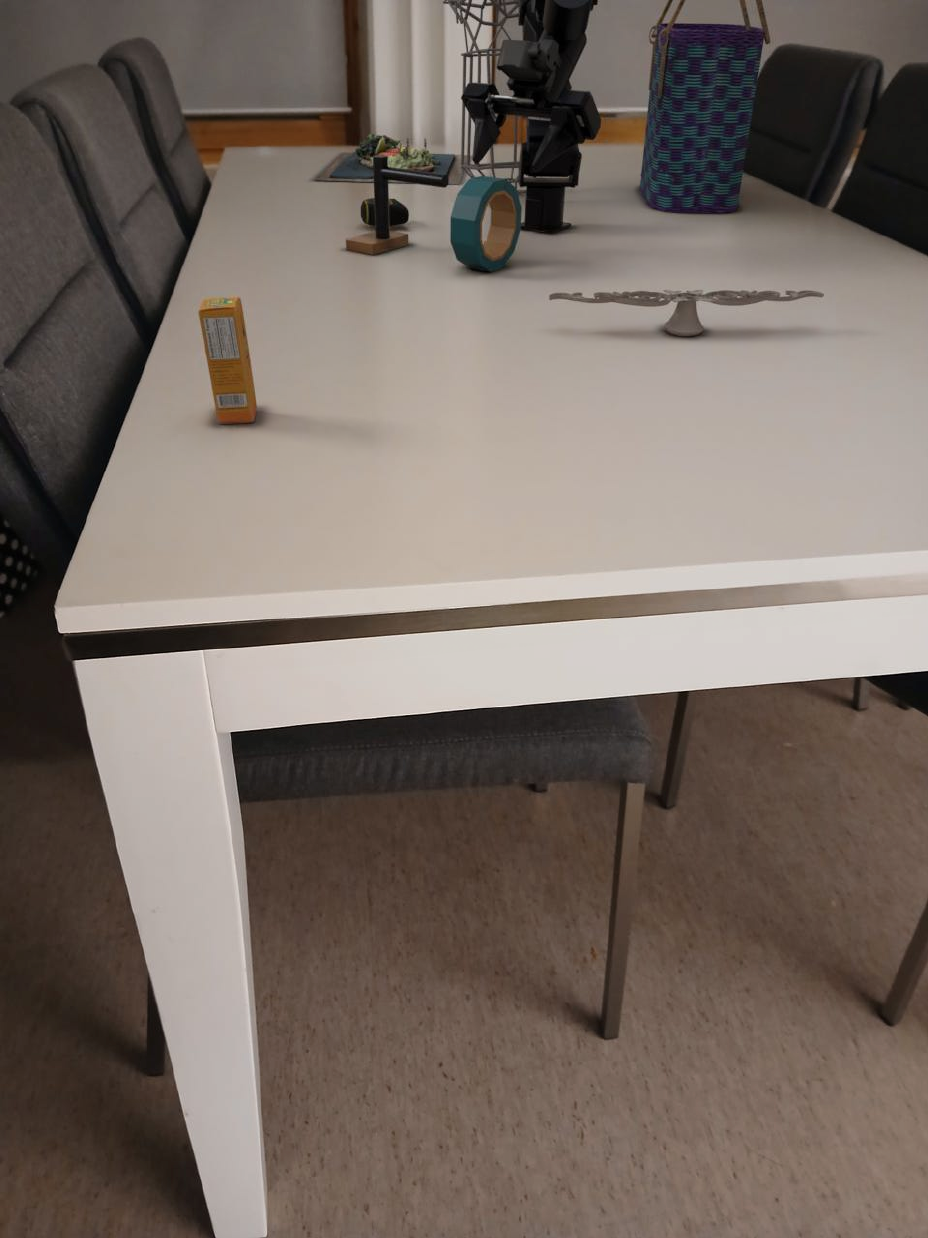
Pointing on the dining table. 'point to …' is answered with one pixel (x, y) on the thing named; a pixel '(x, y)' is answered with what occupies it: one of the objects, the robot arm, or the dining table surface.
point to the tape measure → (396, 212)
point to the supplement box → (228, 359)
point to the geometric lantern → (457, 2)
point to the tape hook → (382, 193)
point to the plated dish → (392, 161)
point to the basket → (700, 112)
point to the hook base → (376, 243)
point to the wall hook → (686, 303)
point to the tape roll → (470, 220)
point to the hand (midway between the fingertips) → (503, 165)
